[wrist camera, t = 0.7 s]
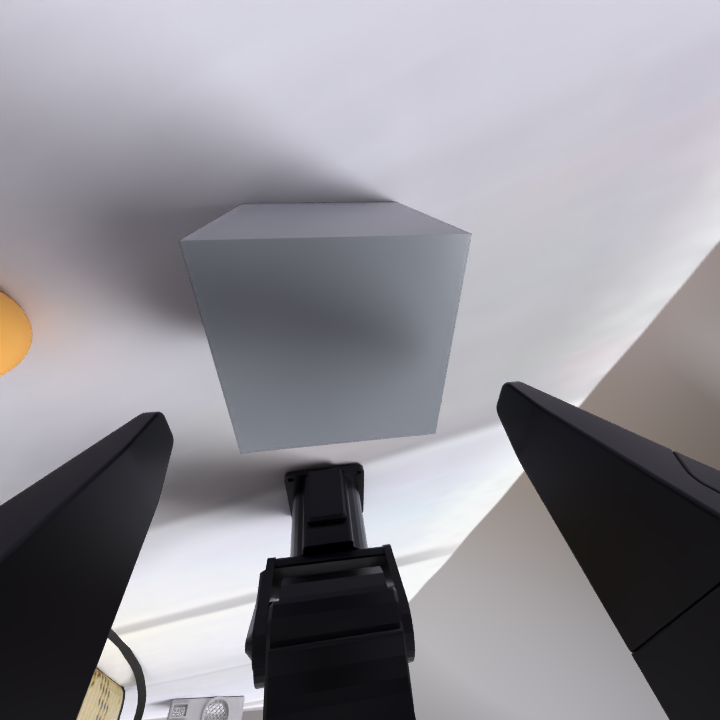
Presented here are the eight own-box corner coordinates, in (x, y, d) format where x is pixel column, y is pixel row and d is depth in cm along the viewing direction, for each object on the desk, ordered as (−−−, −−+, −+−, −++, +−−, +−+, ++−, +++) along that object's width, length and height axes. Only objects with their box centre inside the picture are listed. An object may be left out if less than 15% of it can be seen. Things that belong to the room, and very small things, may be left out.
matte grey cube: (389, 334, 20) (435, 433, 13) (266, 342, 19) (240, 453, 12) (396, 202, 16) (471, 233, 9) (242, 203, 15) (178, 240, 8)
